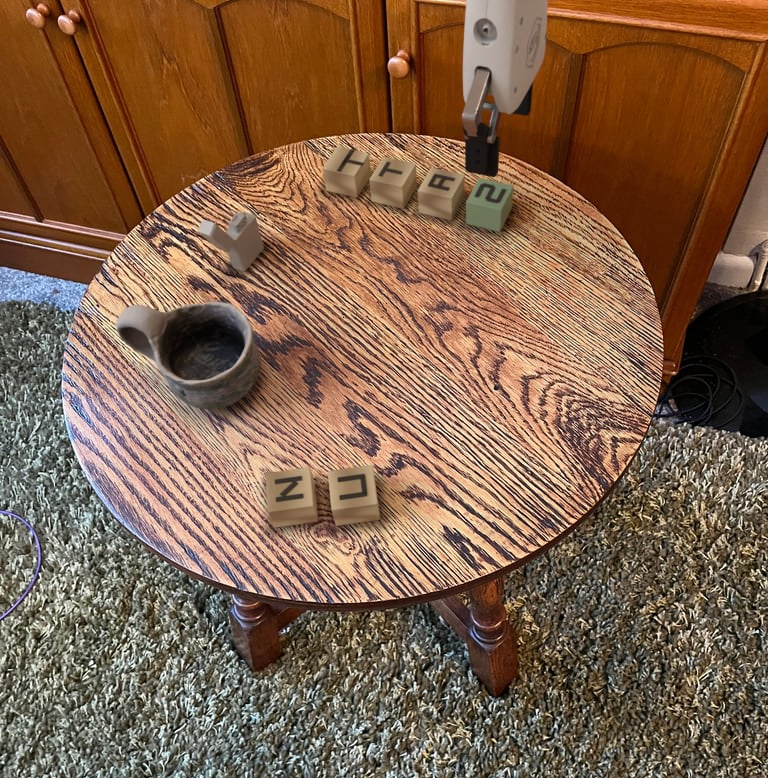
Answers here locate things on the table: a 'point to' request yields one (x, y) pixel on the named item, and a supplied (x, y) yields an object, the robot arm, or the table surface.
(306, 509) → the left tile
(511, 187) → the green number block
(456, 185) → the right tile
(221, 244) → the grey y-shaped block
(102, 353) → the table surface
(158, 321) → the mug
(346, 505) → the left tile
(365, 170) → the beige letter block
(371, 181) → the right tile t
